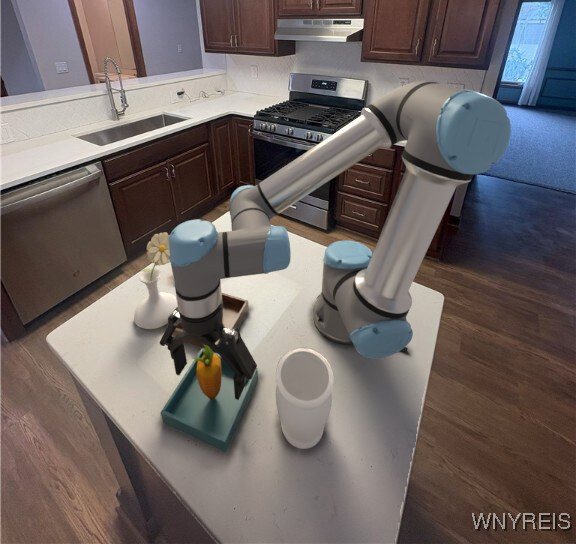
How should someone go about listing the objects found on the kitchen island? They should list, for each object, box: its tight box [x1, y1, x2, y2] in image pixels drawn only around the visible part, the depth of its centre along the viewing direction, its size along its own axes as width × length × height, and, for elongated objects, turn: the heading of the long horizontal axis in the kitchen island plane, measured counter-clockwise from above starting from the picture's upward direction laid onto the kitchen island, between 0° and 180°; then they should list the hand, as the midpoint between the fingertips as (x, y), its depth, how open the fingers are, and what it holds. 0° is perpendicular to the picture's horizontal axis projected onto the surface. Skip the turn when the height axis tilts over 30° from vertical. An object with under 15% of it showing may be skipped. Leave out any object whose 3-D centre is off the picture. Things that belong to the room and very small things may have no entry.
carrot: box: [193, 344, 221, 400], centre depth 63 cm, size 5×5×15 cm
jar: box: [275, 347, 335, 450], centre depth 59 cm, size 11×10×15 cm
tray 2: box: [160, 348, 259, 453], centre depth 65 cm, size 14×14×3 cm
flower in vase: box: [133, 231, 178, 330], centre depth 81 cm, size 13×11×25 cm
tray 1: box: [172, 292, 250, 350], centre depth 82 cm, size 14×14×3 cm
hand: (209, 380), depth 63 cm, fingers open, 13 cm apart
